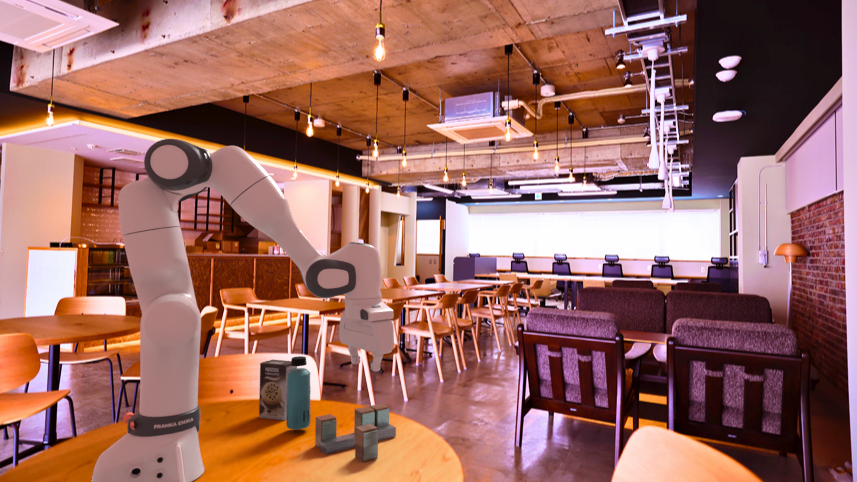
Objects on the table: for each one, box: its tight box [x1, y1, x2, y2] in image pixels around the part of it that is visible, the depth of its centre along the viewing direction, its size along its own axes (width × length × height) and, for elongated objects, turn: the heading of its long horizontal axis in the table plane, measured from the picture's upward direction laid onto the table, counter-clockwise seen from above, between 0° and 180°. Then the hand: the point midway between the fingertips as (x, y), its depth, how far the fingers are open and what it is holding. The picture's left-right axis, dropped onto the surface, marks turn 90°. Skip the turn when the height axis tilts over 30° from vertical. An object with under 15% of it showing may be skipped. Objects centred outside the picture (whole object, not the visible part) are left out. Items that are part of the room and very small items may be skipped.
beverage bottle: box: [285, 355, 312, 430], centre depth 130 cm, size 6×7×20 cm
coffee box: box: [258, 359, 298, 421], centre depth 142 cm, size 9×6×16 cm
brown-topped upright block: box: [354, 424, 379, 463], centre depth 112 cm, size 4×4×7 cm
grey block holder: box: [314, 403, 397, 456], centre depth 122 cm, size 20×7×7 cm, turn 127°
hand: (365, 367), depth 114 cm, fingers open, 8 cm apart
